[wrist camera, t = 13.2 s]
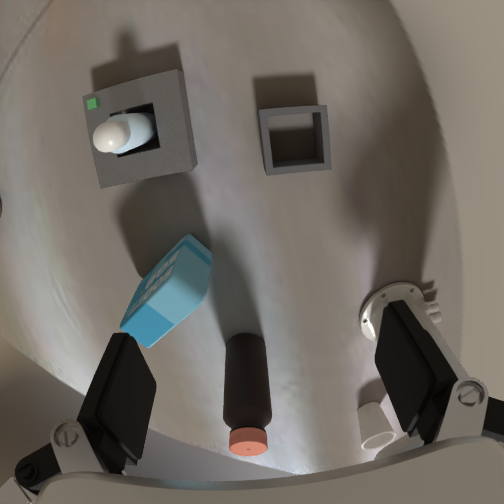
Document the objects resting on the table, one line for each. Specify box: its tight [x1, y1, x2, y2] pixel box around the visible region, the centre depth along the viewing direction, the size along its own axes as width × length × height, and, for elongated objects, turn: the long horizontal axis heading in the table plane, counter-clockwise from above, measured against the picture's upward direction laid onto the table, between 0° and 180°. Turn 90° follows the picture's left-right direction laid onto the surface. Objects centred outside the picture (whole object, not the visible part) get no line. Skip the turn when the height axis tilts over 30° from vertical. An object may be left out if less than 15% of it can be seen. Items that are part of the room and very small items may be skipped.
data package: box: [120, 233, 213, 348], centre depth 38 cm, size 12×4×12 cm, turn 134°
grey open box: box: [257, 105, 331, 176], centre depth 34 cm, size 8×8×4 cm
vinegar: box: [223, 333, 272, 456], centre depth 42 cm, size 7×7×20 cm
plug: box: [93, 112, 158, 154], centre depth 29 cm, size 4×4×12 cm
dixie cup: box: [358, 402, 396, 450], centre depth 58 cm, size 8×8×10 cm
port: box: [83, 69, 198, 189], centre depth 32 cm, size 12×12×5 cm
